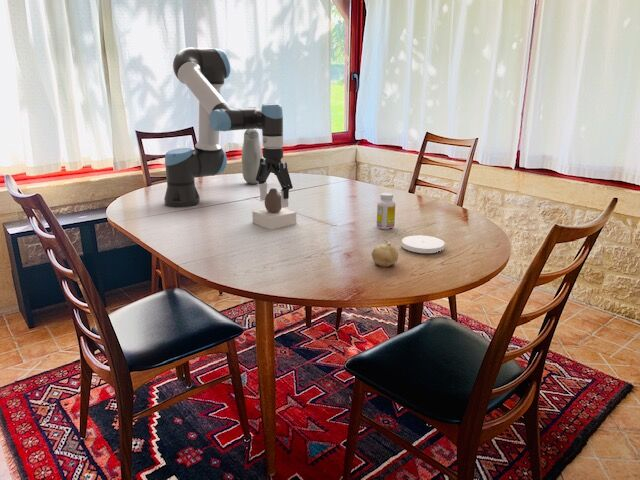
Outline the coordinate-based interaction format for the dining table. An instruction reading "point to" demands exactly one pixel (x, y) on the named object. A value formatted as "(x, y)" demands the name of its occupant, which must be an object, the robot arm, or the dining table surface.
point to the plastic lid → (422, 244)
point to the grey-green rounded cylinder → (251, 155)
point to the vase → (273, 201)
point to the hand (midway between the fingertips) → (274, 203)
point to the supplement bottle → (386, 211)
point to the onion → (385, 254)
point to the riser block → (274, 218)
